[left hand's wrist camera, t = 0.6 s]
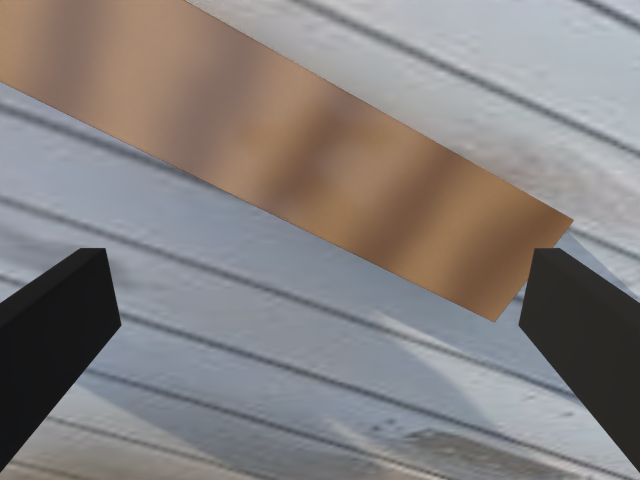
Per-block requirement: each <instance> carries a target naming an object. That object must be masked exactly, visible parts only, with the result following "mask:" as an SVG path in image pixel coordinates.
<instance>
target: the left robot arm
mask: <svg viewBox="0 0 640 480" xmlns="http://www.w3.org/2000/svg"><path fill="white" fill-rule="evenodd" d="M120 327H121V320H120V316H119V311H118V306H117V301H116V296H115V292H114V287H113V282H112V277H111V272H110V268H109V263H108V258H107V253H106V249H105V248H80V249H78V250H77V251H76V252H74V253H73V254H71V255H70V256H68V257H67V258H65V259H64V260H62V261H61V262H60V263H58V264H57V265H55V266H54V267H52V268H51V269H49V270H48V271H46V272H45V273H43V274H42V275H41V276H39V277H38V278H36V279H35V280H33V281H32V282H30V283H29V284H27V285H26V286H25V287H23V288H22V289H20V290H19V291H17V292H16V293H14V294H13V295H11V296H10V297H8V298H7V299H6V300H4V301H3V302H1V303H0V473H1V471H2V470H3V469H4V468H5V466H6V465H7V464H8V463H9V462H10V460H11V459H12V458H13V457H14V456H15V454H16V453H17V452H18V451H19V449H20V448H21V447H22V446H23V445H24V443H25V442H26V441H27V440H28V438H29V437H30V436H31V435H32V434H33V432H34V431H35V430H36V429H37V428H38V426H39V425H40V424H41V423H42V421H43V420H44V419H45V418H46V417H47V415H48V414H49V413H50V412H51V410H52V409H53V408H54V407H55V406H56V404H57V403H58V402H59V401H60V400H61V398H62V397H63V396H64V395H65V393H66V392H67V391H68V390H69V389H70V387H71V386H72V385H73V384H74V383H75V381H76V380H77V379H78V378H79V376H80V375H81V374H82V373H83V372H84V370H85V369H86V368H87V367H88V365H89V364H90V363H91V362H92V361H93V359H94V358H95V357H96V356H97V355H98V353H99V352H100V351H101V350H102V348H103V347H104V346H105V345H106V344H107V342H108V341H109V340H110V339H111V337H112V336H113V335H114V334H115V333H116V331H117V330H118V329H119V328H120ZM519 327H520V328H521V329H522V330H523V331H524V333H525V334H526V335H527V336H528V337H529V339H530V340H531V341H532V342H533V344H534V345H535V346H536V347H537V348H538V350H539V351H540V352H541V353H542V355H543V356H544V357H545V358H546V359H547V361H548V362H549V363H550V364H551V365H552V367H553V368H554V369H555V370H556V372H557V373H558V374H559V375H560V376H561V378H562V379H563V380H564V381H565V383H566V384H567V385H568V386H569V387H570V389H571V390H572V391H573V392H574V393H575V395H576V396H577V397H578V398H579V400H580V401H581V402H582V403H583V404H584V406H585V407H586V408H587V409H588V410H589V412H590V413H591V414H592V415H593V417H594V418H595V419H596V420H597V421H598V423H599V424H600V425H601V426H602V428H603V429H604V430H605V431H606V432H607V434H608V435H609V436H610V437H611V438H612V440H613V441H614V442H615V443H616V445H617V446H618V447H619V448H620V449H621V451H622V452H623V453H624V454H625V456H626V457H627V458H628V459H629V460H630V462H631V463H632V464H633V465H634V466H635V468H636V469H637V470H638V471H639V473H640V303H639V302H637V301H636V300H634V299H633V298H632V297H630V296H629V295H627V294H626V293H624V292H623V291H621V290H620V289H618V288H617V287H615V286H614V285H613V284H611V283H610V282H608V281H607V280H605V279H604V278H602V277H601V276H599V275H598V274H597V273H595V272H594V271H592V270H591V269H589V268H588V267H586V266H585V265H583V264H582V263H580V262H579V261H578V260H576V259H575V258H573V257H572V256H570V255H569V254H567V253H566V252H564V251H563V250H562V249H560V248H535V249H534V253H533V258H532V263H531V268H530V272H529V277H528V282H527V287H526V292H525V296H524V301H523V306H522V311H521V316H520V320H519Z"/></svg>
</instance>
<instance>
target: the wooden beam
mask: <svg viewBox="0 0 640 480" xmlns="http://www.w3.org/2000/svg"><path fill="white" fill-rule="evenodd" d="M0 82H2V83H4V84H6V85H8V86H10V87H12V88H14V89H16V90H18V91H21V92H23V93H25V94H27V95H29V96H31V97H33V98H35V99H37V100H39V101H41V102H43V103H45V104H47V105H49V106H51V107H53V108H55V109H57V110H59V111H62V112H64V113H66V114H68V115H70V116H72V117H74V118H76V119H78V120H80V121H82V122H84V123H86V124H88V125H90V126H92V127H94V128H96V129H98V130H101V131H103V132H105V133H107V134H109V135H111V136H113V137H115V138H117V139H119V140H121V141H123V142H125V143H127V144H129V145H131V146H133V147H135V148H137V149H140V150H142V151H144V152H146V153H148V154H150V155H152V156H154V157H156V158H158V159H160V160H162V161H164V162H166V163H168V164H170V165H172V166H174V167H176V168H179V169H181V170H183V171H185V172H187V173H189V174H191V175H193V176H195V177H197V178H199V179H201V180H203V181H205V182H207V183H209V184H211V185H213V186H215V187H218V188H220V189H222V190H224V191H226V192H228V193H230V194H232V195H234V196H236V197H238V198H240V199H242V200H244V201H246V202H248V203H250V204H252V205H254V206H257V207H259V208H261V209H263V210H265V211H267V212H269V213H271V214H273V215H275V216H277V217H279V218H281V219H283V220H285V221H287V222H289V223H291V224H293V225H296V226H298V227H300V228H302V229H304V230H306V231H308V232H310V233H312V234H314V235H316V236H318V237H320V238H322V239H324V240H326V241H328V242H330V243H332V244H335V245H337V246H339V247H341V248H343V249H345V250H347V251H349V252H351V253H353V254H355V255H357V256H359V257H361V258H363V259H365V260H367V261H369V262H371V263H373V264H376V265H378V266H380V267H382V268H384V269H386V270H388V271H390V272H392V273H394V274H396V275H398V276H400V277H402V278H404V279H406V280H408V281H410V282H412V283H415V284H417V285H419V286H421V287H423V288H425V289H427V290H429V291H431V292H433V293H435V294H437V295H439V296H441V297H443V298H445V299H447V300H449V301H451V302H454V303H456V304H458V305H460V306H462V307H464V308H466V309H468V310H470V311H472V312H474V313H476V314H478V315H480V316H482V317H484V318H486V319H488V320H490V321H493V322H495V321H496V320H497V319H498V317H499V316H500V315H501V313H502V312H503V311H504V310H505V308H506V307H507V306H508V304H509V303H510V302H511V301H512V299H513V298H514V297H515V295H516V294H517V293H518V292H519V290H520V289H521V288H522V286H523V285H524V284H525V283H526V281H527V280H528V277H529V272H530V268H531V263H532V258H533V253H534V249H535V248H553V247H554V245H555V244H556V243H557V242H558V240H559V239H560V238H561V236H562V235H563V234H564V233H565V231H566V230H567V229H568V227H569V226H570V225H571V224H572V222H573V221H574V220H573V219H571V218H569V217H568V216H566V215H564V214H562V213H561V212H559V211H557V210H555V209H554V208H552V207H550V206H548V205H546V204H545V203H543V202H541V201H539V200H538V199H536V198H534V197H532V196H530V195H529V194H527V193H525V192H523V191H522V190H520V189H518V188H516V187H514V186H513V185H511V184H509V183H507V182H506V181H504V180H502V179H500V178H499V177H497V176H495V175H493V174H491V173H490V172H488V171H486V170H484V169H483V168H481V167H479V166H477V165H475V164H474V163H472V162H470V161H468V160H467V159H465V158H463V157H461V156H460V155H458V154H456V153H454V152H452V151H451V150H449V149H447V148H445V147H444V146H442V145H440V144H438V143H436V142H435V141H433V140H431V139H429V138H428V137H426V136H424V135H422V134H420V133H419V132H417V131H415V130H413V129H412V128H410V127H408V126H406V125H405V124H403V123H401V122H399V121H397V120H396V119H394V118H392V117H390V116H389V115H387V114H385V113H383V112H381V111H380V110H378V109H376V108H374V107H373V106H371V105H369V104H367V103H365V102H364V101H362V100H360V99H358V98H357V97H355V96H353V95H351V94H350V93H348V92H346V91H344V90H342V89H341V88H339V87H337V86H335V85H334V84H332V83H330V82H328V81H326V80H325V79H323V78H321V77H319V76H318V75H316V74H314V73H312V72H310V71H309V70H307V69H305V68H303V67H302V66H300V65H298V64H296V63H295V62H293V61H291V60H289V59H287V58H286V57H284V56H282V55H280V54H279V53H277V52H275V51H273V50H271V49H270V48H268V47H266V46H264V45H263V44H261V43H259V42H257V41H256V40H254V39H252V38H250V37H248V36H247V35H245V34H243V33H241V32H240V31H238V30H236V29H234V28H232V27H231V26H229V25H227V24H225V23H224V22H222V21H220V20H218V19H216V18H215V17H213V16H211V15H209V14H208V13H206V12H204V11H202V10H201V9H199V8H197V7H195V6H193V5H192V4H190V3H188V2H186V1H185V0H0Z"/></svg>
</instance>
